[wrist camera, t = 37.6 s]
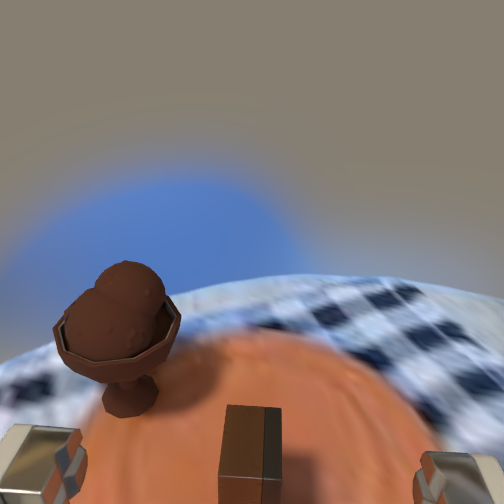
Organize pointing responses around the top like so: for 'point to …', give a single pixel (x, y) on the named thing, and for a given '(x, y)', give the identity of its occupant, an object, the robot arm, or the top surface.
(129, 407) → the ice cream bowl
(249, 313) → the top surface
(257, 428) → the eraser
